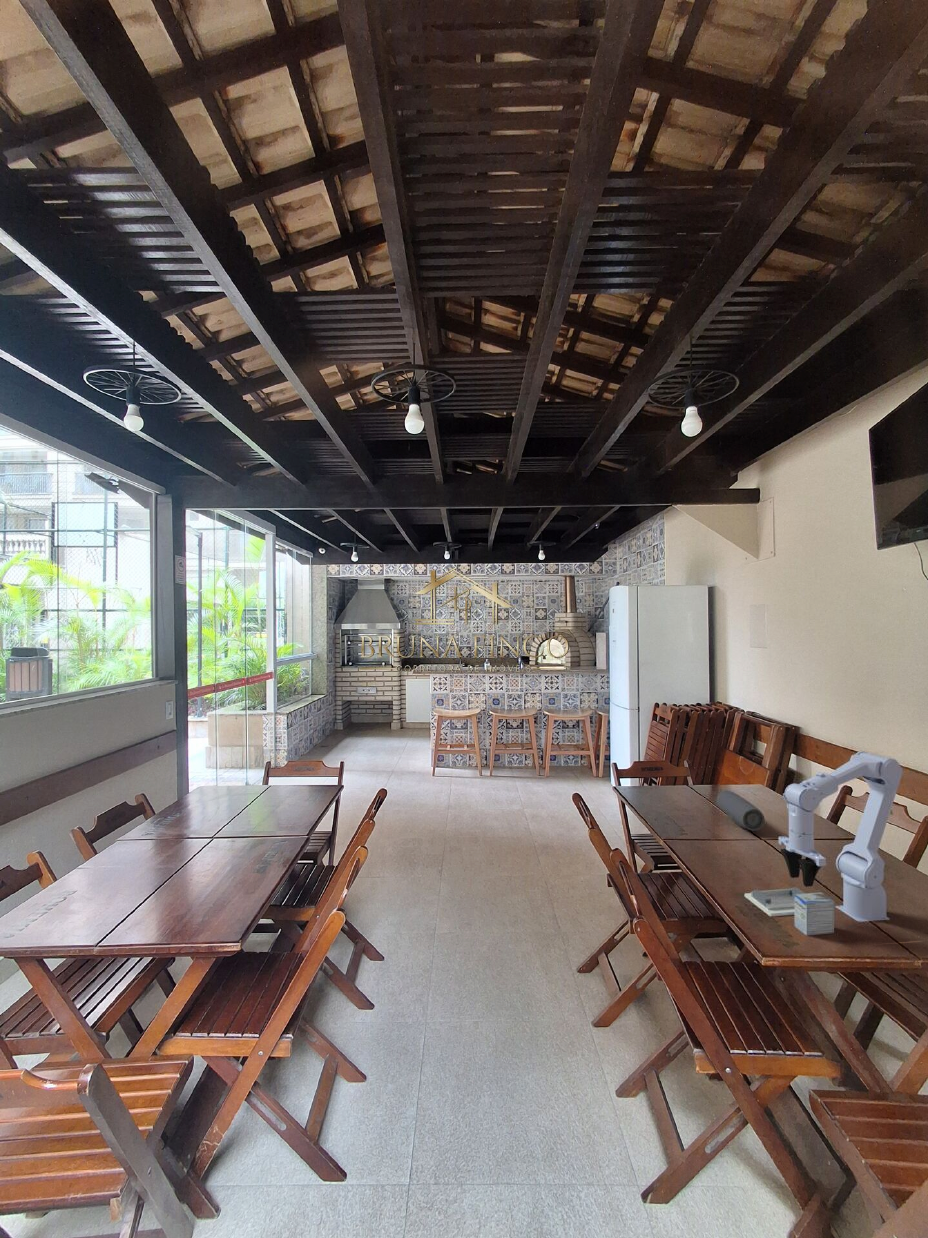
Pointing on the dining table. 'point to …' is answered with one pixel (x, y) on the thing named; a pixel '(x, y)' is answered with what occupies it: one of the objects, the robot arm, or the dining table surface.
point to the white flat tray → (775, 900)
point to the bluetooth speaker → (740, 810)
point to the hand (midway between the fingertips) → (801, 881)
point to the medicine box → (814, 913)
